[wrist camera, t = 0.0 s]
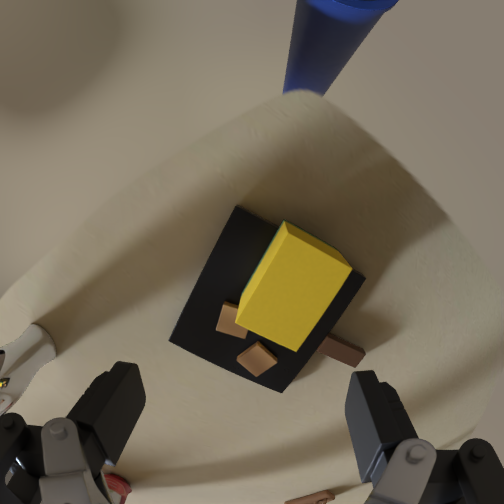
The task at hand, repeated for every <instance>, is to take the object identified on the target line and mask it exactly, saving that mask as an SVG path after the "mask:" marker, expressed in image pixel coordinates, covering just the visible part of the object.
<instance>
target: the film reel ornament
mask: <svg viewBox="0 0 504 504" xmlns="http://www.w3.org/2000/svg"><path fill="white" fill-rule="evenodd" d="M334 499H335V495H334V494H332V493H331V492H330V491H329V490H324V491H321V492H318V493H315V494H312V495H308V496H305V497H301V498H298V499H294V500H290V501H287V502H284V504H322V503H323V504H326V503H327V502H329V501H332V500H334Z"/></svg>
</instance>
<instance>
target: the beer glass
mask: <svg viewBox="0 0 504 504" xmlns="http://www.w3.org/2000/svg"><path fill="white" fill-rule="evenodd" d="M55 357H56V347H55V344H54V342H53V340H52V338H51V336H50V335H49V334H48V333H47V331H46V330H44V329H43V328H42V327H40V326H39V325H36V324H32V325H29V326H28V327H27V328H26V330H25V331H24V332H23V333H22V335H21V336H20V337H19V338H17V339H16V340H14V341H12V342H10V343H8V344H6V345H4V346H2V347H0V417H1V416H2V415H4V414H5V413H6V412H7V411H8V410H9V409H11V408H12V407H13V406H14V405H15V404H16V402H17V401H18V400H19V399H20V398H21V396H22V395H23V394H24V392H25V391H26V389H27V387H28V386H29V384H30V383H31V381H32V379H33V378H34V376H35V375H36V373H37V372H38V371H39V369H40V368H42V367H43V366H44V365H46V364H47V363H49V362H51V361H52V360H54V359H55Z"/></svg>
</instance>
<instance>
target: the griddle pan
mask: <svg viewBox="0 0 504 504" xmlns="http://www.w3.org/2000/svg"><path fill="white" fill-rule="evenodd" d="M278 229H279V227H278V226H276V225H274V224H273V223H271V222H269V221H267V220H265V219H263V218H262V217H260V216H258V215H256V214H254V213H252V212H250V211H248V210H247V209H245V208H243V207H241V206H239V205H236V206H235V208H234V210H233V212H232V214H231V216H230V218H229V220H228V222H227V223H226V225H225V227H224V229H223V231H222V233H221V235H220V237H219V239H218V241H217V243H216V245H215V247H214V249H213V251H212V253H211V255H210V257H209V259H208V260H207V262H206V264H205V266H204V268H203V270H202V272H201V274H200V276H199V278H198V280H197V282H196V284H195V286H194V289H193V291H192V293H191V295H190V297H189V299H188V301H187V303H186V305H185V307H184V309H183V311H182V313H181V315H180V317H179V319H178V321H177V323H176V326H175V328H174V330H173V332H172V334H171V336H170V338H169V341H170V342H171V343H173V344H175V345H177V346H179V347H181V348H183V349H185V350H187V351H189V352H191V353H193V354H195V355H197V356H199V357H201V358H203V359H205V360H207V361H209V362H211V363H213V364H215V365H217V366H219V367H222V368H224V369H226V370H228V371H230V372H232V373H235V374H237V375H239V376H241V377H244V378H246V379H248V380H251V381H253V382H255V383H258V384H260V385H262V386H265V387H267V388H270V389H272V390H275V391H277V392H280V393H283V391H284V390H285V389H286V388H287V387H288V385H289V384H290V383H291V382H292V380H293V379H294V378H295V377H296V375H297V374H298V373H299V372H300V370H301V369H302V368H303V367H304V365H305V364H306V363H307V361H308V360H309V359H310V358H311V356H312V355H313V354H314V352H315V351H316V350H317V351H318V352H320V353H322V354H324V355H327V356H329V357H331V358H333V359H336V360H338V361H340V362H343V363H345V364H347V365H350V366H352V367H354V368H356V366H357V365H358V364H359V363H360V361H361V360H362V359H363V358H364V356H365V355H366V354H365V352H364V350H363V349H362V348H360V347H358V346H356V345H354V344H352V343H349V342H347V341H345V340H343V339H341V338H339V337H337V336H335V335H332V334H330V333H329V332H330V331H331V329H332V328H333V326H334V325H335V324H336V322H337V321H338V319H339V318H340V317H341V315H342V314H343V312H344V311H345V309H346V308H347V306H348V305H349V303H350V302H351V300H352V299H353V297H354V296H355V294H356V293H357V291H358V290H359V288H360V287H361V285H362V284H363V282H364V281H365V279H366V278H365V276H364V275H363V274H361V273H360V272H358V271H356V270H354V269H352V271H351V272H350V274H349V275H348V277H347V279H346V280H345V282H344V283H343V285H342V286H341V288H340V289H339V291H338V293H337V294H336V296H335V297H334V299H333V300H332V302H331V303H330V305H329V306H328V308H327V309H326V311H325V312H324V313H323V315H322V316H321V318H320V319H319V321H318V322H317V324H316V325H315V326H314V328H313V329H312V331H311V332H310V334H309V335H308V336H307V338H306V339H305V341H304V342H303V343H302V345H301V346H300V347H299V349H298V350H297V351H293V350H291V349H289V348H287V347H285V346H282V345H280V344H278V343H276V342H274V341H272V340H270V339H267V338H265V337H263V336H261V335H259V334H257V333H255V332H253V331H251V330H249V329H248V332H247V335H246V338H245V339H243V338H240V337H237V336H233V335H230V334H227V333H223V332H220V331H217V330H216V328H217V324H218V321H219V317H220V314H221V311H222V307H223V304H224V302H225V301H226V302H229V303H232V304H235V305H239V303H240V299H241V295H242V292H243V290H244V288H245V287H246V285H247V283H248V281H249V280H250V278H251V276H252V274H253V273H254V271H255V269H256V267H257V266H258V264H259V262H260V260H261V259H262V257H263V255H264V253H265V252H266V250H267V248H268V246H269V244H270V243H271V241H272V239H273V237H274V236H275V234H276V232H277V230H278ZM257 341H259V342H260V343H261V344H262V345H263V346H264V347H265V348H266V349H268V350H269V351H270V352H271V353H272V354H273V355H274V356H275V357H276V358H277V363H276V364H275V365H273V366H272V367H270V368H269V369H267V370H266V371H265V372H263V373H262V374H260V375H259V376H257V377H256V376H254V375H253V374H252V373H251V372H250V371H248V370H247V369H246V368H245V367H244V366H243V365H241V364H240V363H239V362H238V361H237V356H238V355H240V354H241V353H243V352H244V351H245V350H247V349H248V348H249V347H251V346H252V345H253V344H255V343H256V342H257Z"/></svg>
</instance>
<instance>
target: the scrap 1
mask: <svg viewBox="0 0 504 504" xmlns="http://www.w3.org/2000/svg"><path fill="white" fill-rule="evenodd" d="M238 308H239V305H235V304H232V303H229V302H226V301H225V302H224V304H223V307H222V311H221V314H220V317H219V321H218V324H217V328H216V330H217V331H220V332H223V333H227V334H230V335H233V336H237V337H240V338H243V339H245V338H246V335H247V332H248V329H247V328H245V327H242V326H240V325H238V324H236V323H235V321H236V316H237V312H238Z"/></svg>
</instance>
